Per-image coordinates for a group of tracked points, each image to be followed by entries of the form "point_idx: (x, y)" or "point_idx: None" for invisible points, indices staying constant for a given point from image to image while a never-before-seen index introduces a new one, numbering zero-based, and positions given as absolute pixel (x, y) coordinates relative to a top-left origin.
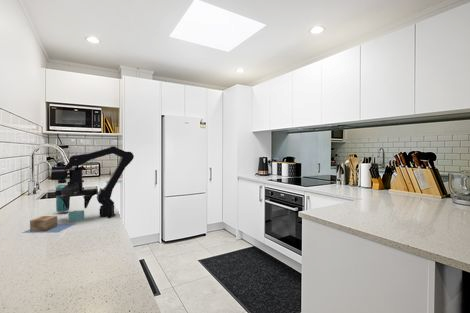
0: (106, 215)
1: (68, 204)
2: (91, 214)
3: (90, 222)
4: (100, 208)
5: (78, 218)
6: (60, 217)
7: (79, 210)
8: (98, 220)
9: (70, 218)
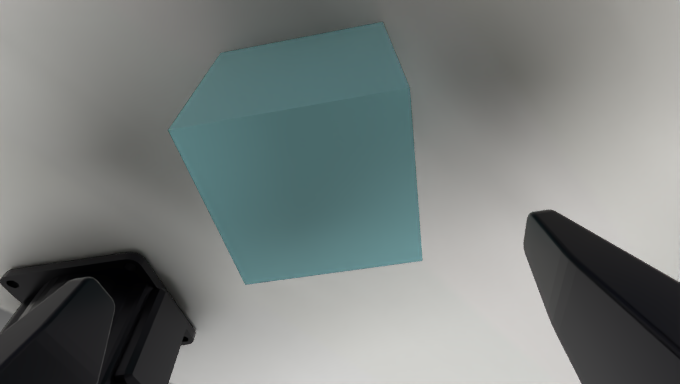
0: (44, 291)
1: (577, 333)
2: (353, 325)
3: (24, 78)
4: (100, 378)
5: (206, 81)
6: (659, 205)
7: (331, 272)
8: (28, 175)
9: (351, 49)
